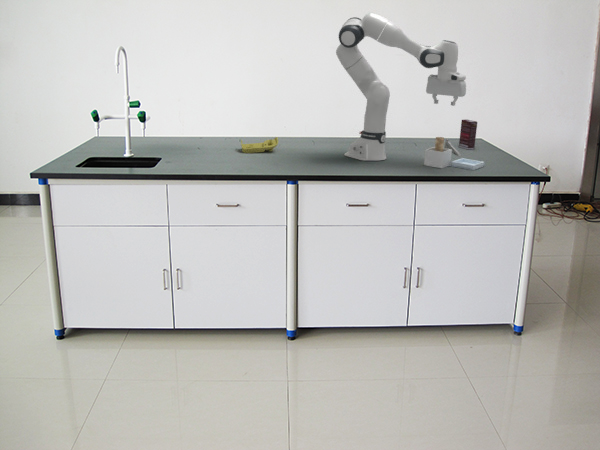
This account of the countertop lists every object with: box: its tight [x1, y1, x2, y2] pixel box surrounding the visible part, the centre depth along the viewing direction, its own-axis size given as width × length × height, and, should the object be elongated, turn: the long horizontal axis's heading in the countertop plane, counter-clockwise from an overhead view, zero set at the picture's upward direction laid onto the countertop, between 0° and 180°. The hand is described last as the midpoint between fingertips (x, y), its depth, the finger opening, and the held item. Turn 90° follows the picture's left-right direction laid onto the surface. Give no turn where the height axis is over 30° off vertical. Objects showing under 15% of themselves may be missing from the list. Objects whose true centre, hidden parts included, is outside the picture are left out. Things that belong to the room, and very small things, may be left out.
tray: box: [450, 157, 485, 171], centre depth 304 cm, size 12×12×2 cm
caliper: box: [443, 138, 462, 157], centre depth 336 cm, size 20×1×6 cm, turn 10°
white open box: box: [423, 146, 453, 169], centre depth 304 cm, size 10×10×8 cm
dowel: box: [434, 136, 445, 152], centre depth 303 cm, size 4×4×14 cm
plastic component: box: [240, 137, 279, 154], centre depth 326 cm, size 20×7×10 cm
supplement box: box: [458, 119, 478, 150], centre depth 346 cm, size 9×5×16 cm, turn 25°
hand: (444, 104), depth 296 cm, fingers open, 8 cm apart
